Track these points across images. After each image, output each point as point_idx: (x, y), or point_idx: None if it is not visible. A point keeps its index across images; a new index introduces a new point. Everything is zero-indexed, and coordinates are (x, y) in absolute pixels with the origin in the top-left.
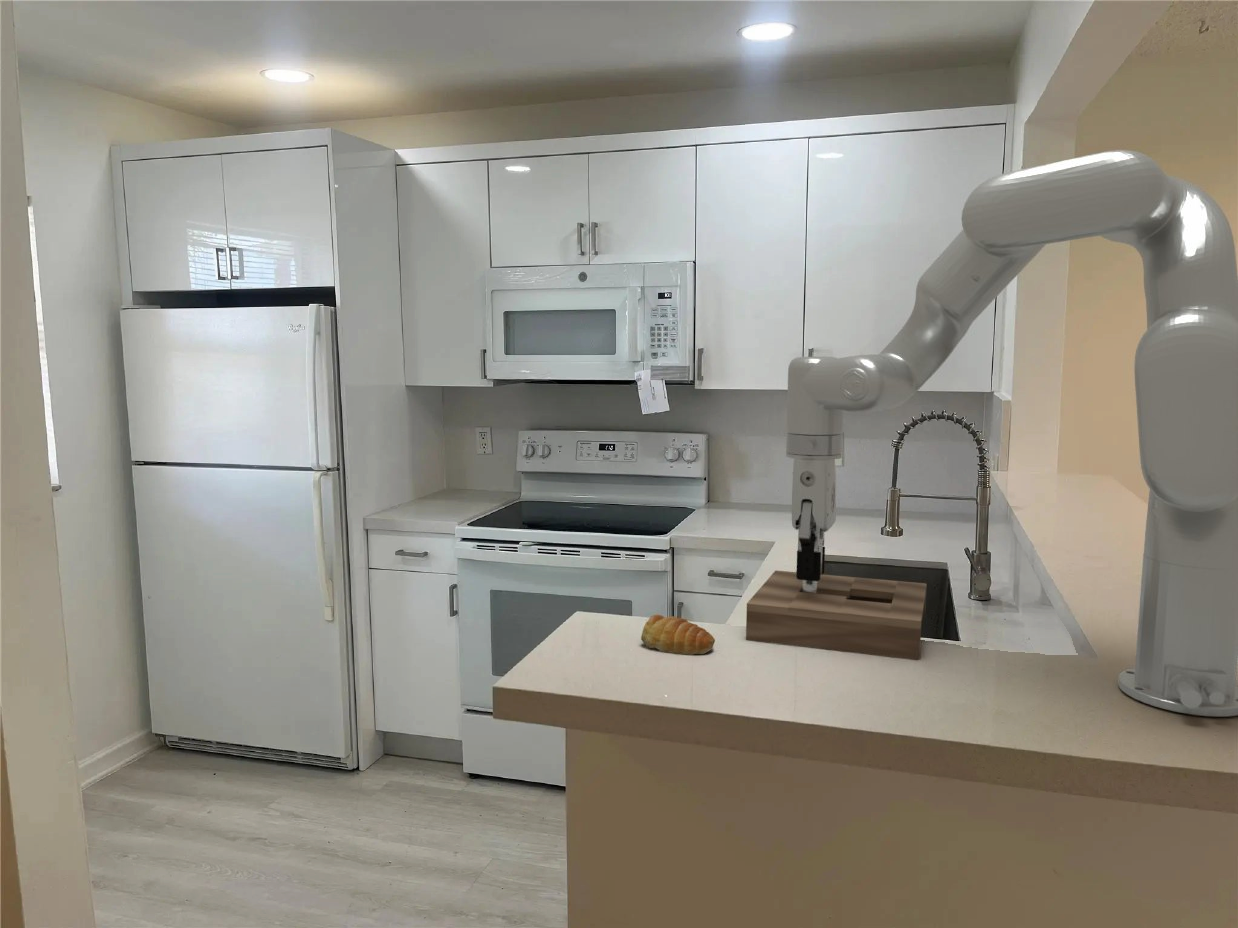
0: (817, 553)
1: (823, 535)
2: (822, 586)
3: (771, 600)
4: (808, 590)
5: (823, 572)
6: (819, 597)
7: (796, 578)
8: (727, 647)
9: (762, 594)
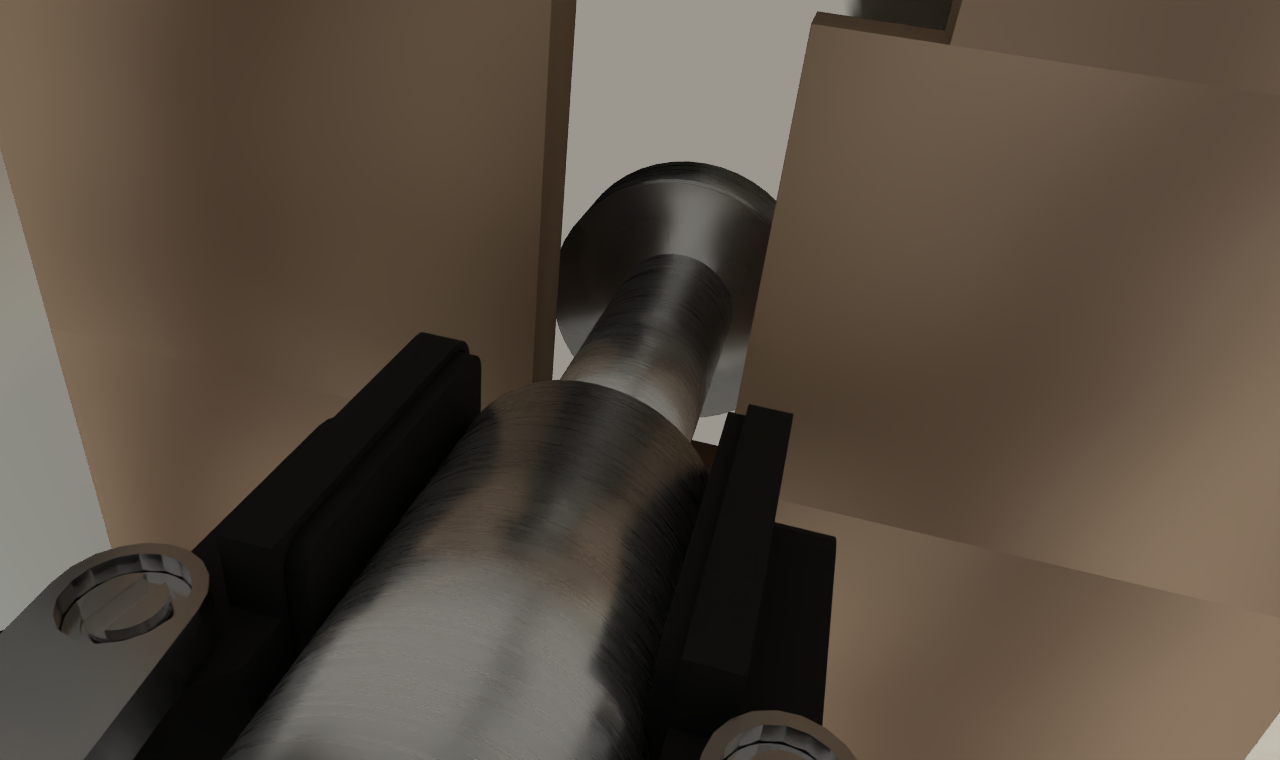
0: (737, 699)
1: (69, 712)
2: (454, 269)
3: (1064, 710)
4: (697, 417)
5: (454, 345)
6: (908, 330)
7: (273, 458)
8: (1263, 734)
9: (864, 735)
